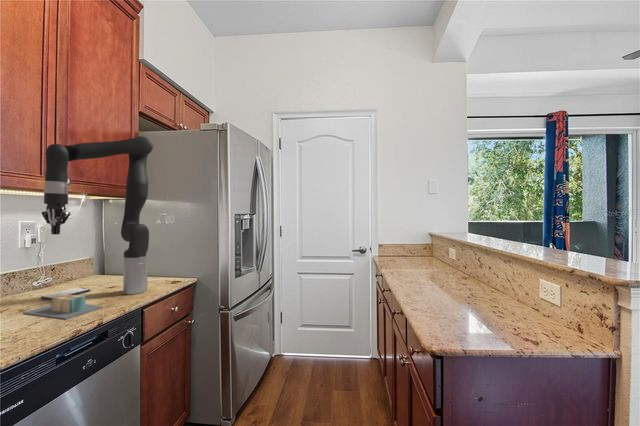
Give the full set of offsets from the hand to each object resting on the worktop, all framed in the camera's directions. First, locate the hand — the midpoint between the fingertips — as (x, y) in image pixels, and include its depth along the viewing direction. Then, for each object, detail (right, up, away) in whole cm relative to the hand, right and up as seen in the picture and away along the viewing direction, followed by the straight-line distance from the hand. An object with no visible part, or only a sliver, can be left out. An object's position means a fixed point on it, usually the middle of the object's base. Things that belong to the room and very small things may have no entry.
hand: (55, 234), depth 123 cm
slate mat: (+10, -29, -8) cm, 32 cm away
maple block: (+8, -26, -7) cm, 28 cm away
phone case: (-7, -30, +13) cm, 33 cm away
